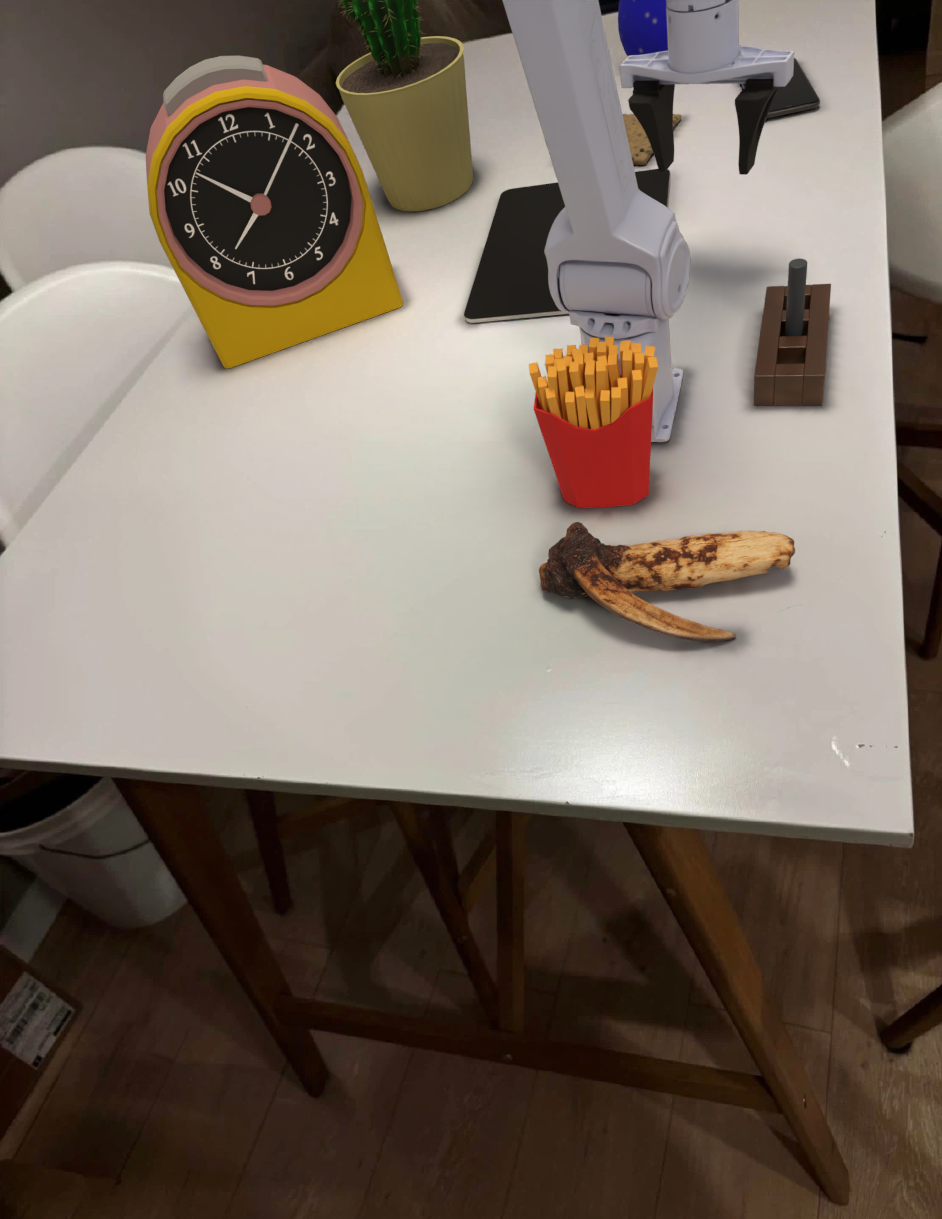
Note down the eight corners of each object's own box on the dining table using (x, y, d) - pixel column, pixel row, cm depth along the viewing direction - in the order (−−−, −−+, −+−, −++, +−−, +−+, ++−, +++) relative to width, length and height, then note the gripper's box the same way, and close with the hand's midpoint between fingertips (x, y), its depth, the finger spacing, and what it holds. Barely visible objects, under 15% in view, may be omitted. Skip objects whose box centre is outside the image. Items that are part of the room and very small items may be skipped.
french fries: (551, 511, 72) (523, 379, 62) (555, 475, 75) (529, 343, 65) (667, 503, 70) (657, 365, 60) (667, 466, 72) (657, 328, 63)
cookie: (683, 117, 111) (683, 109, 110) (645, 165, 105) (645, 157, 105) (596, 117, 117) (595, 109, 116) (555, 162, 111) (554, 155, 110)
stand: (828, 313, 80) (831, 283, 78) (822, 405, 73) (825, 375, 71) (765, 315, 82) (766, 286, 80) (753, 405, 75) (754, 376, 73)
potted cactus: (509, 159, 115) (456, -132, 92) (455, 222, 107) (382, -79, 85) (409, 159, 122) (337, -112, 99) (351, 218, 114) (259, -61, 92)
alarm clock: (223, 370, 97) (95, 119, 77) (217, 329, 103) (97, 87, 84) (404, 305, 97) (322, 39, 78) (388, 268, 103) (307, 13, 84)
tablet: (502, 189, 108) (670, 166, 102) (503, 194, 109) (670, 172, 103) (462, 319, 92) (659, 301, 86) (463, 325, 92) (659, 307, 87)
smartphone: (735, 75, 116) (756, 122, 106) (735, 68, 115) (757, 115, 105) (795, 61, 114) (822, 108, 105) (795, 54, 114) (822, 100, 104)
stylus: (800, 362, 77) (807, 267, 70) (783, 362, 77) (788, 268, 71) (801, 352, 78) (807, 257, 71) (784, 352, 78) (789, 258, 71)
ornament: (714, 55, 121) (712, -77, 110) (675, 85, 118) (669, -48, 107) (646, 51, 127) (638, -75, 116) (608, 79, 124) (595, -48, 113)
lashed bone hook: (539, 659, 63) (806, 641, 59) (526, 620, 60) (810, 597, 55) (544, 559, 69) (788, 535, 65) (532, 518, 65) (790, 490, 61)
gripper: (810, -28, 70) (800, 148, 80) (638, -16, 77) (649, 144, 87) (780, 8, 67) (773, 187, 77) (603, 18, 73) (619, 181, 83)
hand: (705, 167), depth 82 cm, fingers open, 7 cm apart
